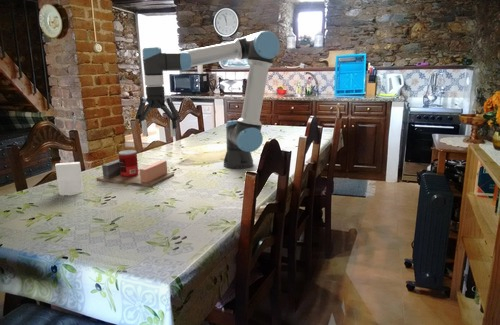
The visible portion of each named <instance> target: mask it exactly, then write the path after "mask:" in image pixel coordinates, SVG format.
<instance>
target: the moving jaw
mask: <svg viewBox="0 0 500 325" xmlns="http://www.w3.org/2000/svg"><path fill="white" fill-rule="evenodd" d="M139 170H140V177H141V182H144V183H147V182H150V181H152V180H154V179H156V178H158V177H160V176H162V175H164V174H166V173H168V162H167V160H162V159H161V160H158V161H156V162H153V163H151V164H148V165H147V166H144V167H141V168H140V169H139Z"/></svg>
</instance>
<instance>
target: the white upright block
mask: <svg viewBox="0 0 500 325" xmlns="http://www.w3.org/2000/svg"><path fill="white" fill-rule="evenodd" d="M54 167H55V173H56V174H55V175H56V181H57V185H58V186H57V187H58V193H59V195H60V196H64V195H68V196H73V195H74V196H75V195H79V194H81V193H83V192H84V184H83V175H82V167H81V162H80V161H72V162H60V163H58V162H57V163H55V165H54Z"/></svg>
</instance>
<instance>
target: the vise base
mask: <svg viewBox="0 0 500 325" xmlns="http://www.w3.org/2000/svg"><path fill="white" fill-rule="evenodd" d="M101 169H102V176H98V177H96V181H100V182H107V183H114V184H115V183H117V184H124V185H125V184H126V185H133V186H141V187H150V188H152V187H154V186H156V185H159V184H161V183H162V182H164V181H166V180H168V179H170V178H172V177H174V176H175V173H173V172H167V173H166V174H164V175H162V176H160V177H158V178H156V179H154V180H152V181H150V182H147V183H144V182H141V177H140V169H138V175H136V176H133V177H122V176H121V173H120V163H119V159H115V160H113V161H111V162H108V163H103V164H102V165H101Z"/></svg>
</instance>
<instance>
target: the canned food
mask: <svg viewBox="0 0 500 325" xmlns="http://www.w3.org/2000/svg"><path fill="white" fill-rule="evenodd" d="M118 160H119V163H120V173H121V176H122V177H133V176H136V175H138V170H139V166H138V155H137V150H135V149H125V150H120V151H119V152H118Z"/></svg>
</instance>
